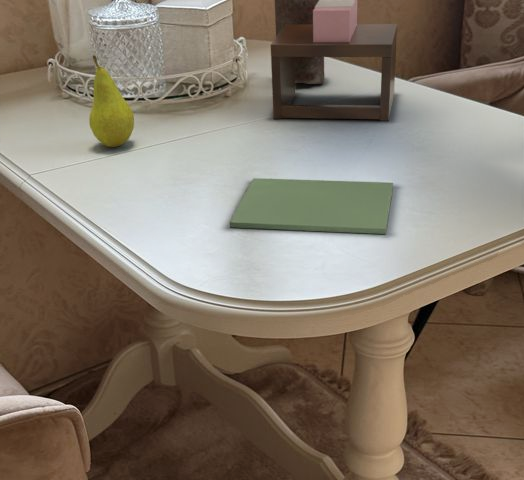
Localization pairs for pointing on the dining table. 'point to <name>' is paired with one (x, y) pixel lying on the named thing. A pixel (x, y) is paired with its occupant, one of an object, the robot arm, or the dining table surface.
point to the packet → (334, 21)
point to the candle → (300, 12)
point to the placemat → (315, 206)
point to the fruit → (109, 111)
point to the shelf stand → (301, 45)
